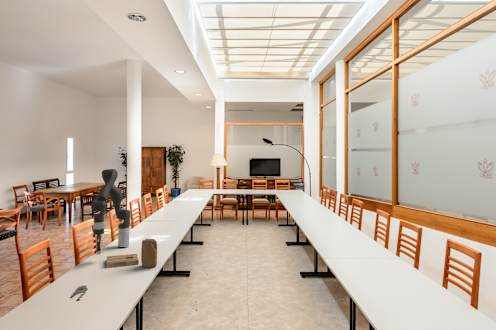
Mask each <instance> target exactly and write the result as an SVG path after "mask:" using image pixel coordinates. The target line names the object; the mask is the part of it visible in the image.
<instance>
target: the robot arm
mask: <svg viewBox="0 0 496 330" xmlns="http://www.w3.org/2000/svg"><path fill="white" fill-rule="evenodd" d="M118 175H119V173H118V170H117V169H116V168H108V169H103V170H102V171H101V177H102V180H103V182H104V185H102V186H101V187H100V189H99V190H98V194H97V196H96V197H95V198H94V200H93V201H92V202H91V205H90V208H91V210H92V211H94V212H95V211H97V213H95V214H94V215H93V225H92V226H93V228H92V229H93V231H92V233H93V235H95V244H96V243H97V251H100V246H101V245H100V243H101V240H102V237H103V236H102V235H104V234H105V213H106V210H107V206H108V205H107V203H106V201H107V199H108V197H109V196H110V199H111V202H112V206H113V208H114V212H115V217H116V218H117V220H119V221H123V222H122V223H119V224H118V226H117V230H118V231H117V248H118V247H127V246H129V247H130V225H131V211H130V210H129V209H123V208H122V207H121V206H122V205H121V204H122V201H123V199H124V198H123V193H122V191H121V189H120V188H119V187H118V186H116V184H115V183H116V181H117V179H118V177H119V176H118ZM99 211H100V212H99ZM98 212H99V213H98ZM101 247H102V246H101ZM127 248H128V247H127ZM97 251H96V252H97Z"/></svg>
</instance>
